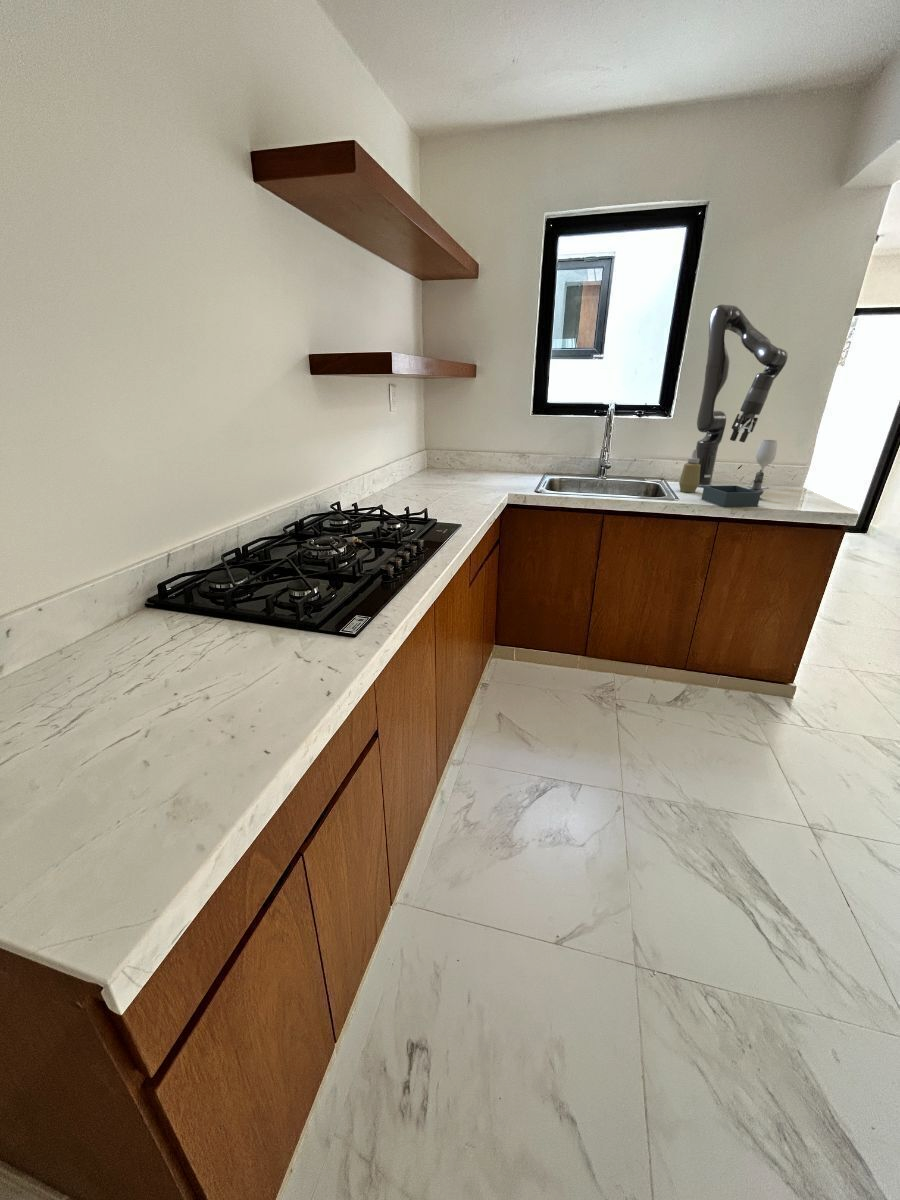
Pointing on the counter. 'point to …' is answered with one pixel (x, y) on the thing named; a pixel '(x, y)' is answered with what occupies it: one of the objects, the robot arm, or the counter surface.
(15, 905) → the counter surface
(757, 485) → the salt shaker
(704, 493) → the bin
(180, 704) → the counter surface
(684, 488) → the squeeze bottle
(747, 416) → the robot arm
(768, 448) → the wineglass
